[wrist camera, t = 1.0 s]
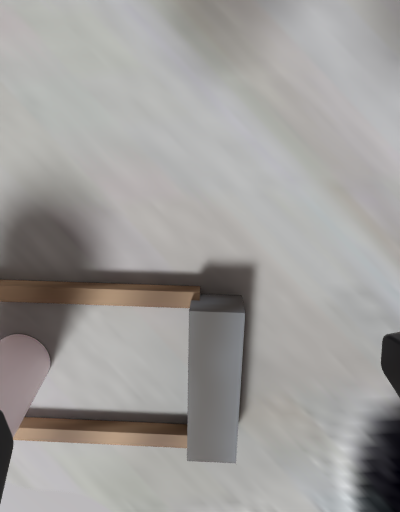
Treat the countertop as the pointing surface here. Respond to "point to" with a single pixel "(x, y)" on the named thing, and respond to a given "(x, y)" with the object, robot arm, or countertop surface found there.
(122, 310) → the countertop surface
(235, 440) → the guide track
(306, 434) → the countertop surface
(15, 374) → the smoothie
